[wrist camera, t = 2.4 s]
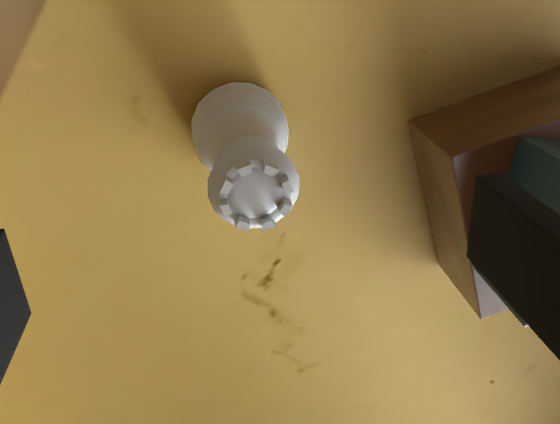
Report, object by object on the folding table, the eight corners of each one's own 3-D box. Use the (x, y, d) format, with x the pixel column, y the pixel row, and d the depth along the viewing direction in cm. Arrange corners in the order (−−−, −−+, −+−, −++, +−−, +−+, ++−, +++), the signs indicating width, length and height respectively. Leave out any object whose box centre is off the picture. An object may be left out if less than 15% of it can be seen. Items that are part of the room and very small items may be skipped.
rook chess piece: (171, 138, 25) (163, 216, 18) (226, 58, 24) (240, 108, 17) (249, 187, 27) (270, 276, 19) (305, 115, 25) (348, 181, 18)
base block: (407, 120, 26) (451, 156, 22) (582, 57, 26) (662, 80, 22) (438, 265, 30) (480, 320, 26) (589, 211, 30) (657, 257, 26)
